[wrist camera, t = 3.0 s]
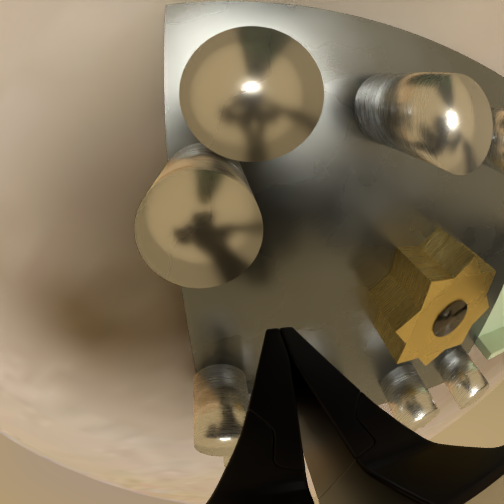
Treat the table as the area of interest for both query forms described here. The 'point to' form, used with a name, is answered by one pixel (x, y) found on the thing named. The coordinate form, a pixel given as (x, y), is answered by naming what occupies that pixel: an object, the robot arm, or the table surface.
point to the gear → (431, 297)
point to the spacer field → (315, 194)
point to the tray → (493, 331)
